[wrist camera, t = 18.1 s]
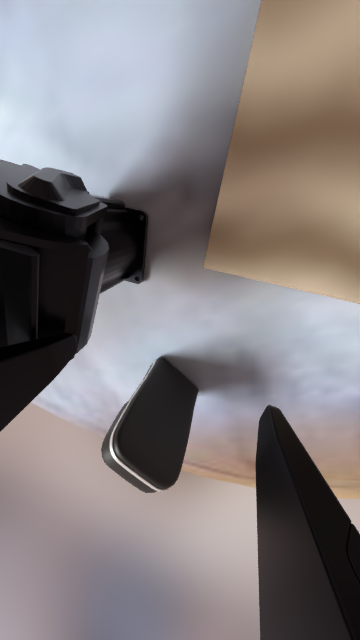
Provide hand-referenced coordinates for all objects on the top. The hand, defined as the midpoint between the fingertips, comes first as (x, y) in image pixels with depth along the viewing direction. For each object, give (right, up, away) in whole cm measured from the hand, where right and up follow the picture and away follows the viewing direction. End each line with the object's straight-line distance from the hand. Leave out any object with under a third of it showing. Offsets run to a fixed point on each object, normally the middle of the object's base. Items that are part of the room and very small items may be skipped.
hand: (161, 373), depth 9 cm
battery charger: (0, -5, +17) cm, 18 cm away
